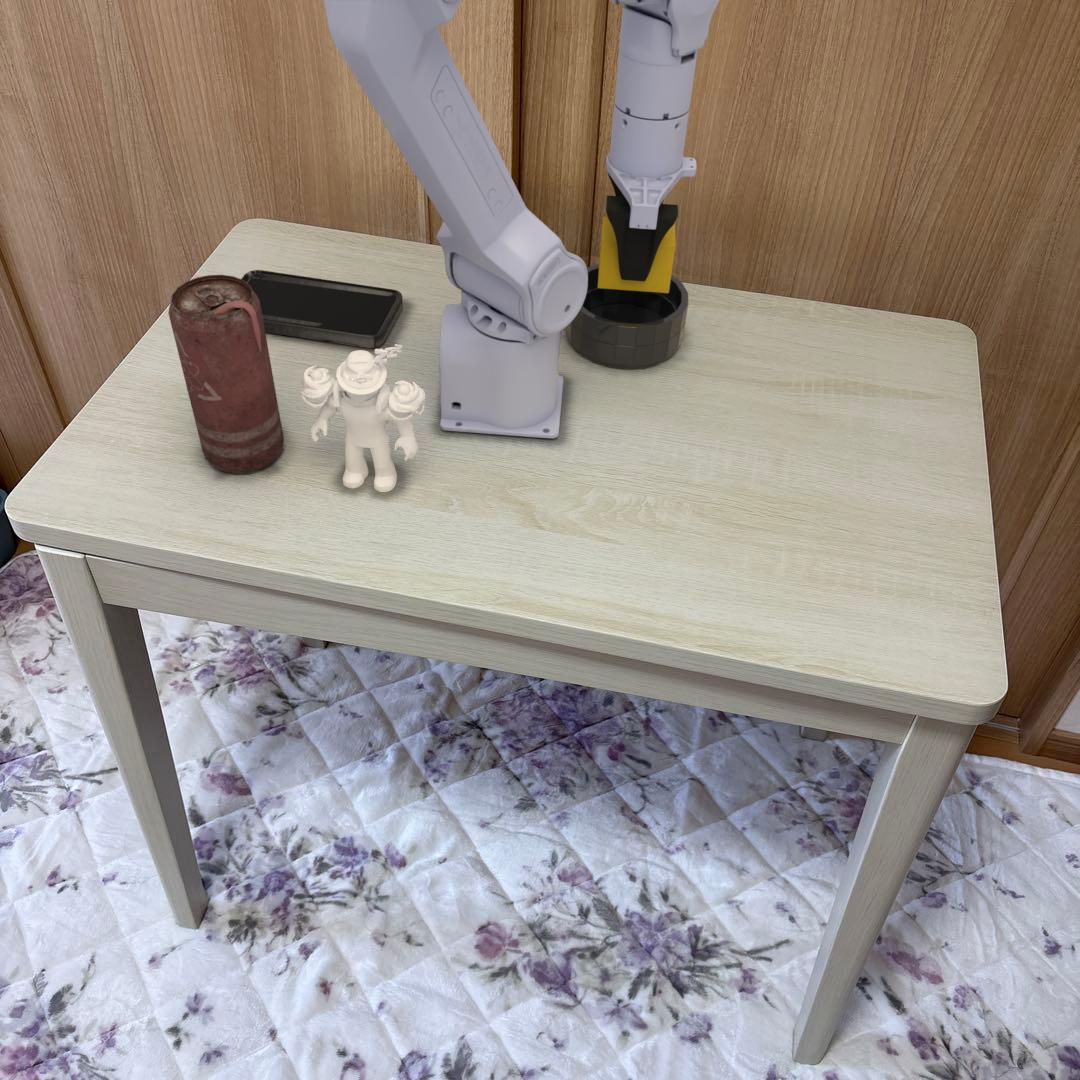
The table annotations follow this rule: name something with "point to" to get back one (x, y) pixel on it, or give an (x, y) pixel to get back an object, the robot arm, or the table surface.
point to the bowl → (629, 324)
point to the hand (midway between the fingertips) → (633, 264)
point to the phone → (325, 308)
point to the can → (227, 372)
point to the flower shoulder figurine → (365, 413)
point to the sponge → (657, 275)
